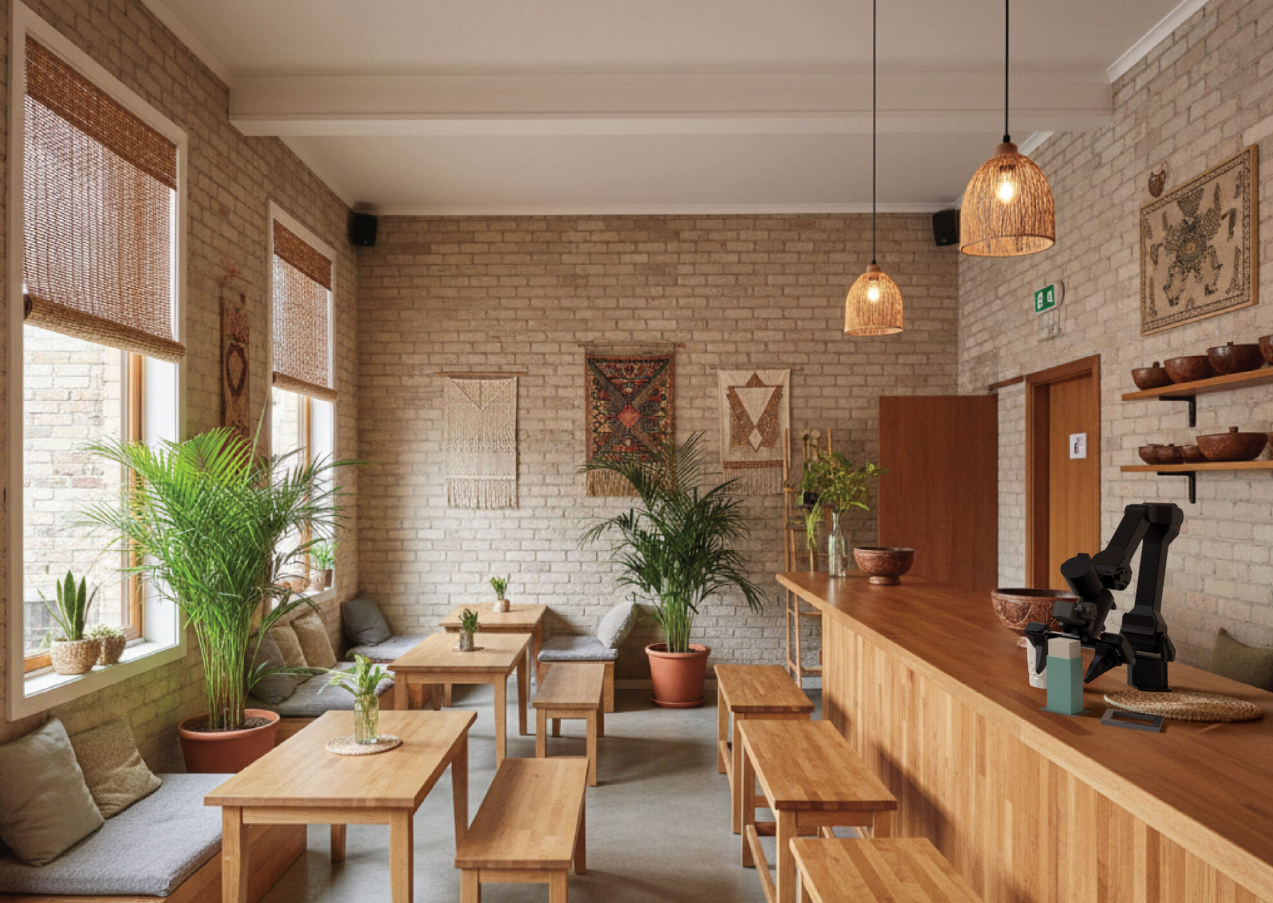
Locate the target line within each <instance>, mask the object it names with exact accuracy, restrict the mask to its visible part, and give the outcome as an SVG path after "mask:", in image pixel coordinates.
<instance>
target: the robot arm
mask: <svg viewBox="0 0 1273 903" xmlns="http://www.w3.org/2000/svg"><path fill="white" fill-rule="evenodd" d="M1123 514H1124V515H1123V517H1122V518H1121V520H1120V521H1119V524H1118V526H1117V527H1116V529H1115V531H1114V533H1113V534H1112V537H1111V538H1110V540H1109V542H1108V544H1107V546H1106V547H1105V548H1104V549H1103V550H1101V551H1099V552H1097V553H1095V554H1094V555H1093V556H1092V557H1091V555H1090V553H1088V552H1078V553H1077V555H1075V556H1073V557H1070V558H1069V559H1067V560H1066V561H1064V562H1062V563H1061V564H1060V568H1059V569H1060V570H1059V572H1060V574H1061V576H1062V577H1063V579H1064V581H1065V582H1066V584H1067V586H1068V587H1069V589H1070V591H1071V593H1072V594H1073V595H1075V596H1076V597H1078V599H1077V601H1076V602H1070V601H1062V600H1054V602H1053V603H1054V604H1053V608H1052V611H1051V618H1053V619H1056V621H1058V623H1057V626H1058V627H1059V629H1061V630H1063V631H1062V632H1060V631H1054V630H1053V629H1052V628H1051V626H1050V624H1049V623H1046V622H1045V623H1044V622H1036V621H1029V622H1027V623H1026V625H1025V627H1024V629H1023V633H1024V634H1025V636H1026V638H1028V639H1029V641H1030V642H1031V644H1032V646H1033V647H1034V648H1035V649H1036V669H1035V671H1036V673H1037V674H1040V673H1041V672H1042V671H1043V670H1044V668H1045V667H1046V665H1047V655H1048V640H1049V639H1054V638H1059V637H1060V638H1067V639H1073V640H1080V647H1081V649H1088V650H1094V654H1093V657H1092V660H1091V661H1090V664H1089V665H1088V668H1087V670H1086V672H1085V674H1084V677H1083V683H1085V684H1086V685H1088V684H1090V683H1092V682H1093V681H1094V680H1097V678H1099V677H1100V676H1102V675H1103V674H1105V673H1107V672H1109V671H1110V670H1112V669H1114V668H1116V667H1122V666H1123V664H1124V665H1127V666H1126V669H1127V670H1126V675H1127V677H1126V679H1127V681H1126V684H1128V685H1129V686H1130V687H1133V688H1134V689H1136V690H1139V691H1155V690H1161V691H1160V692H1164V691H1165V692H1172V691H1173V689H1172V688H1171V687H1170V686H1169V670H1168V669H1169V666H1168V663H1173V662H1175V659H1176V653H1177V652H1176V651H1177V650H1176V647H1175V645H1174V643H1173V642H1172V640H1171V638H1170V637H1169V635H1168V624H1167V623H1166V621H1165V619H1164V617H1163V615H1162V613H1161V609H1162V602H1163V594H1164V586H1165V576H1166V571H1167V570H1166V569H1167V563H1168V554H1169V547H1170V545H1171V544H1172V543H1173V542H1174V540H1175V539H1176V538H1178V536H1179V535H1180V532H1181V527H1182V524H1183V523H1184V520H1185V513H1184V511H1183V509H1182V508H1180V507H1179V505H1178V504H1177V503H1175V502H1152V501H1151V502H1150V501H1149V502H1147V501H1146V502H1145V501H1144V502H1142V503H1130V504H1126V506H1125V507H1124V511H1123ZM1141 542H1142V545H1141V552H1140V560H1139V567H1138V575H1137V582H1136V590H1135V598H1134V605H1133V608H1131V610H1130V611H1129V612H1124V613H1123V614H1122V616H1121V625H1120V629H1119V632H1118V633H1114V632H1109V631H1106V630H1107V627H1106V625H1105V622H1106V620H1107V618H1108V615H1109V612H1110V610H1111V611H1116V610H1117V609H1118V608H1117V604H1116V602H1115V597H1114V595H1113V594H1112V591H1117V592H1124V591H1125V590H1126V589H1127V588H1128V587H1129V585H1130V584H1131V582H1132V578H1133V577H1132V576H1133V570H1132V566H1131V562H1132V559H1133V557H1134V556H1135V553H1136V552H1137V550H1138V548H1139V546H1140V544H1141Z"/></svg>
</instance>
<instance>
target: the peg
mask: <svg viewBox="0 0 1273 903" xmlns="http://www.w3.org/2000/svg"><path fill="white" fill-rule="evenodd" d="M1081 650H1082V648H1081V647H1080V640H1073V639H1067V638H1060V637H1059V638H1054V639H1049V640H1048V655H1047V689H1046V706H1047V709H1048V710H1052V711H1057V712H1061V713H1066V714H1070V715H1071V714H1075V713H1078V712H1081V711H1083V709H1084V662H1083V661H1084V660H1083V659H1084V657H1083V656H1081V655H1082V654H1081Z"/></svg>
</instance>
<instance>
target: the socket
mask: <svg viewBox="0 0 1273 903" xmlns="http://www.w3.org/2000/svg"><path fill="white" fill-rule="evenodd" d="M1114 717H1119V718H1127V719H1128V718H1129V719H1136V720H1143V721H1151V722H1152V724H1148V723H1147V724H1146V723H1141V722H1132V721H1125V720H1118V719H1113V718H1114ZM1164 717H1165V716H1164V715H1158V714H1151V713H1150V714H1149V713H1144V712H1143V713H1142V712H1135V711H1128V710H1121V709H1114V708H1107V709H1106V710H1105V712H1104V714H1103V715H1102V717H1100V724H1101V725H1102V726H1110V727H1117V728H1123V729H1130V730H1138V731H1143V732H1151V733H1158V734H1160V732H1161V730H1162V726H1163V724H1164V721H1165V720H1164Z"/></svg>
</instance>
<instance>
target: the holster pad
mask: <svg viewBox="0 0 1273 903" xmlns="http://www.w3.org/2000/svg"><path fill="white" fill-rule="evenodd" d="M1038 710H1040V711H1042V712H1043V711H1045V712H1048V713H1053V714H1056V715H1062V716H1066V717H1070V718H1077V717H1080V716H1084V715H1087V714H1090V713H1094V710H1089V709H1085V708H1083V711H1081V712H1078V713H1075V714H1071V715H1070V714H1066V713H1061V712H1057V711H1052V710H1048V709H1047V705H1046V706H1043V707H1039V708H1038Z"/></svg>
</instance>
